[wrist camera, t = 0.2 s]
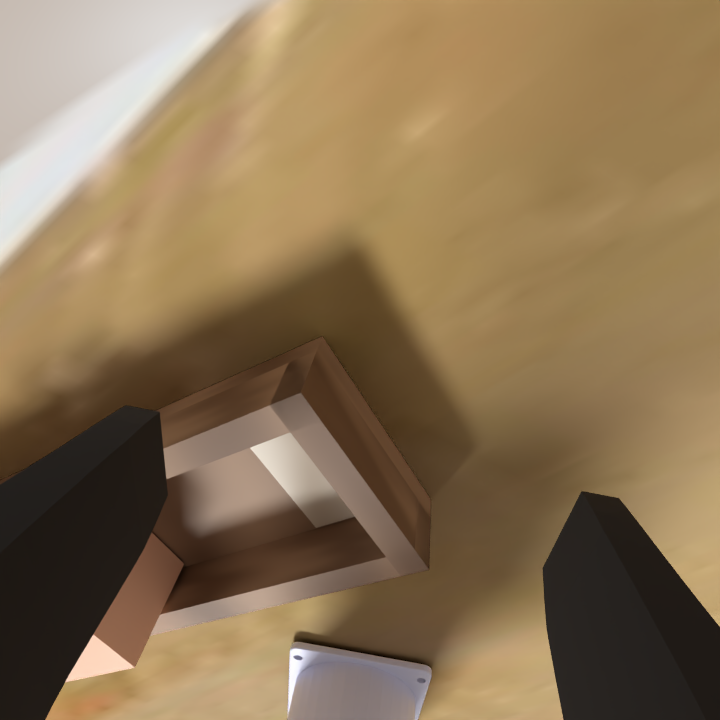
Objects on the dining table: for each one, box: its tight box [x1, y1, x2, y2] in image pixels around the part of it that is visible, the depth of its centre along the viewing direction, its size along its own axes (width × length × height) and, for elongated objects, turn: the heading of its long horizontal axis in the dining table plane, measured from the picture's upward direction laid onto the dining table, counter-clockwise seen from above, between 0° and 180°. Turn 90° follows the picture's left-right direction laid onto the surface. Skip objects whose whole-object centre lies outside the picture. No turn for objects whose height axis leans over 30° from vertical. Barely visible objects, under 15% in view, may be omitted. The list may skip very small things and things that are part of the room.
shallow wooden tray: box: [0, 336, 431, 636], centre depth 24 cm, size 22×9×4 cm, turn 120°
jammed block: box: [65, 533, 184, 682], centre depth 24 cm, size 5×6×5 cm
